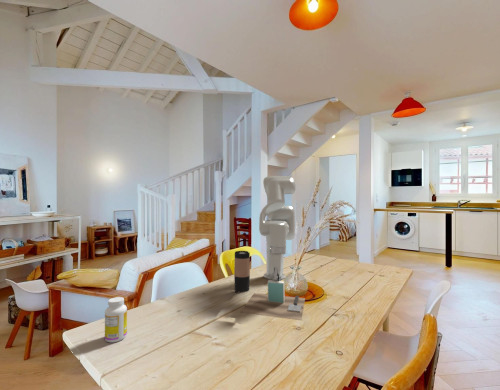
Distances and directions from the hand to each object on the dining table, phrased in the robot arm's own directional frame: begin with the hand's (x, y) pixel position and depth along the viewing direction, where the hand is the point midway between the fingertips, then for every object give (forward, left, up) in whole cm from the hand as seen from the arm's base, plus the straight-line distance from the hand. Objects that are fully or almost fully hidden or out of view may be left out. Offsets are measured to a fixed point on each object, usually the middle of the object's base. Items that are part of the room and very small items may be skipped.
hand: (277, 290), depth 118 cm
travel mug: (-7, -19, -6) cm, 21 cm away
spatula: (+4, +8, -4) cm, 10 cm away
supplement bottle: (+45, -47, -6) cm, 65 cm away
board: (+7, 0, -5) cm, 9 cm away
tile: (+3, 0, -4) cm, 5 cm away
